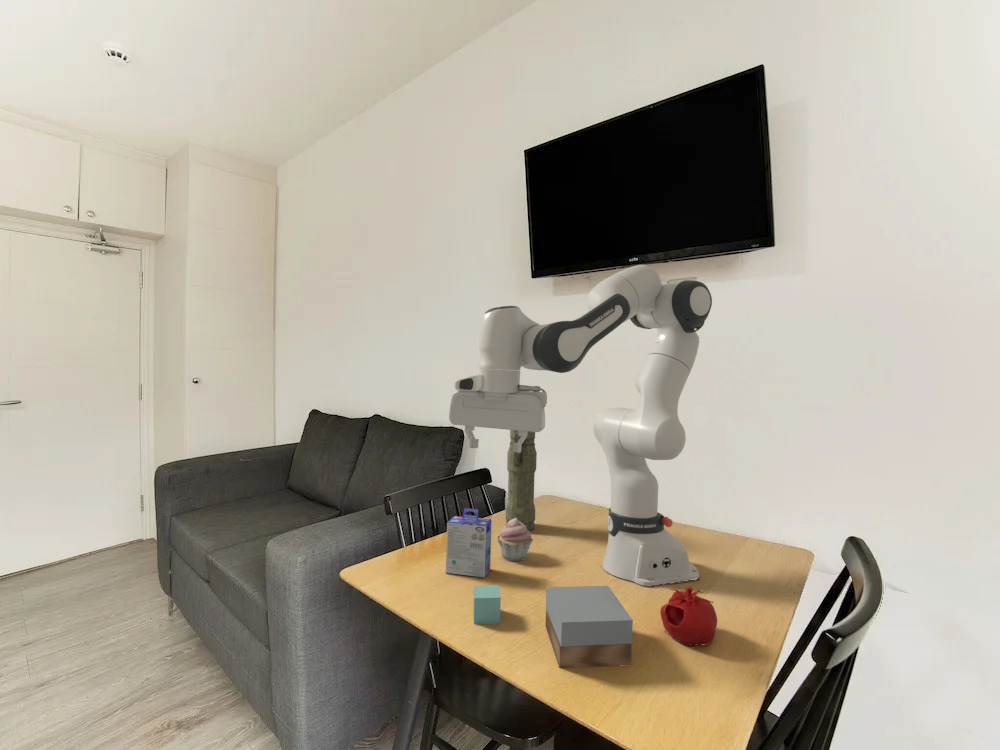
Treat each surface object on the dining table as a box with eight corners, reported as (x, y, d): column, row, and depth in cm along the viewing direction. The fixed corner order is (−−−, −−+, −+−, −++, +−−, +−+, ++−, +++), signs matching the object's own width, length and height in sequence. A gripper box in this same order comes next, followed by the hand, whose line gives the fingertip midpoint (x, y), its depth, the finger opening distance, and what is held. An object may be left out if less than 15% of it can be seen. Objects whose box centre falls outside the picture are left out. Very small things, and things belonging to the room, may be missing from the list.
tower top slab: (607, 606, 89) (608, 585, 89) (631, 643, 77) (632, 620, 77) (545, 608, 88) (546, 587, 88) (561, 646, 76) (561, 622, 76)
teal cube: (497, 609, 93) (498, 585, 93) (500, 623, 88) (500, 597, 88) (472, 610, 93) (473, 585, 93) (473, 624, 88) (474, 598, 88)
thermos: (536, 522, 146) (539, 411, 146) (532, 535, 135) (535, 414, 134) (508, 519, 148) (511, 409, 147) (502, 532, 136) (505, 413, 135)
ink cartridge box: (491, 568, 112) (492, 508, 112) (486, 578, 107) (487, 516, 106) (452, 564, 114) (453, 505, 114) (444, 573, 109) (446, 512, 108)
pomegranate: (708, 623, 90) (710, 576, 90) (724, 655, 80) (726, 602, 80) (655, 617, 92) (657, 571, 92) (665, 648, 82) (666, 596, 82)
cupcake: (531, 566, 114) (532, 525, 114) (493, 562, 116) (494, 522, 115) (534, 551, 123) (535, 513, 123) (499, 548, 125) (500, 511, 125)
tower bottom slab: (607, 627, 89) (608, 606, 89) (630, 668, 77) (631, 644, 77) (545, 629, 88) (546, 608, 88) (559, 671, 76) (560, 646, 76)
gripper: (550, 386, 96) (547, 452, 97) (459, 380, 103) (456, 443, 103) (544, 386, 90) (540, 457, 91) (447, 380, 97) (444, 447, 97)
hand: (494, 450), depth 97 cm, fingers open, 8 cm apart
